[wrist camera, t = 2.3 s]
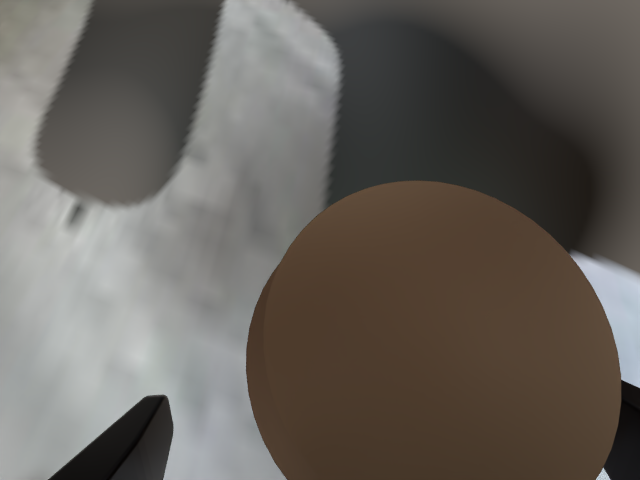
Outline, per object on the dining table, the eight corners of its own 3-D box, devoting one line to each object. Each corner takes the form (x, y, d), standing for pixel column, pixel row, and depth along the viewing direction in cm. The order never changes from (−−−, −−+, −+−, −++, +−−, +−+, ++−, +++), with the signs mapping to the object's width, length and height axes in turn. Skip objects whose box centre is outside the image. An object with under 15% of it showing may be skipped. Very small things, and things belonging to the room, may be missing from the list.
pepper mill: (420, 418, 16) (755, 411, 4) (321, 487, 15) (384, 760, 3) (358, 318, 17) (467, 111, 6) (265, 373, 16) (162, 253, 5)
